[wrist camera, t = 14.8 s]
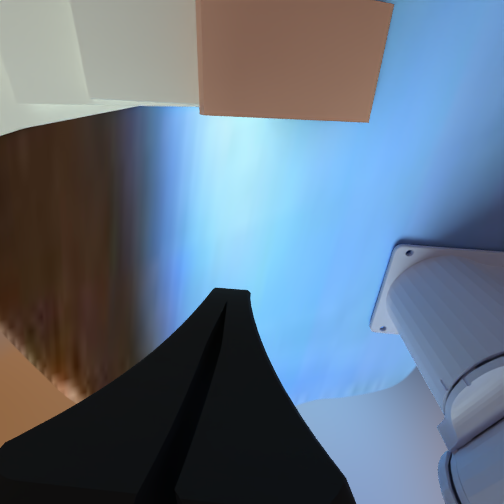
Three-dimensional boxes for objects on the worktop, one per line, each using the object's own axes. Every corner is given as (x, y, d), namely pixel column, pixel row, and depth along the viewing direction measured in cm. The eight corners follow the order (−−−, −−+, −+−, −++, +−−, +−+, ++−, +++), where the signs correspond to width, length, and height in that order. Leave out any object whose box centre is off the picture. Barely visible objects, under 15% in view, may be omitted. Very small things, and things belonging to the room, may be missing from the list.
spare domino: (394, 4, 13) (199, -34, 10) (368, 122, 15) (204, 115, 13) (371, 14, 14) (194, -18, 12) (351, 121, 16) (199, 114, 14)
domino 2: (282, -12, 13) (57, -63, 10) (274, 108, 15) (89, 98, 12) (268, -1, 14) (66, -42, 11) (262, 108, 16) (93, 99, 13)
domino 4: (110, -15, 13) (-126, 6, 11) (148, 103, 16) (-37, 139, 13) (112, -3, 14) (-98, 17, 12) (146, 104, 17) (-22, 136, 15)
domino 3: (205, -12, 13) (-35, -51, 10) (211, 106, 15) (17, 103, 12) (198, -1, 14) (-16, -33, 11) (205, 106, 17) (27, 103, 14)
